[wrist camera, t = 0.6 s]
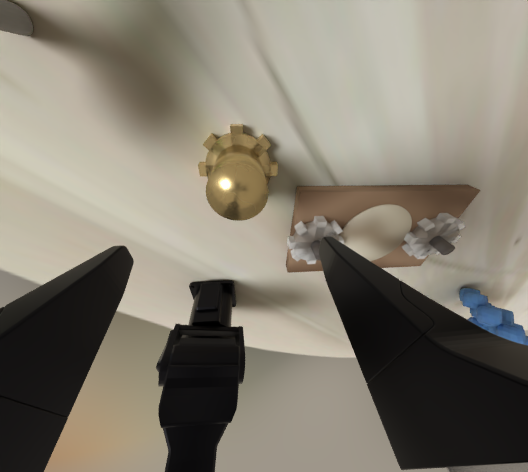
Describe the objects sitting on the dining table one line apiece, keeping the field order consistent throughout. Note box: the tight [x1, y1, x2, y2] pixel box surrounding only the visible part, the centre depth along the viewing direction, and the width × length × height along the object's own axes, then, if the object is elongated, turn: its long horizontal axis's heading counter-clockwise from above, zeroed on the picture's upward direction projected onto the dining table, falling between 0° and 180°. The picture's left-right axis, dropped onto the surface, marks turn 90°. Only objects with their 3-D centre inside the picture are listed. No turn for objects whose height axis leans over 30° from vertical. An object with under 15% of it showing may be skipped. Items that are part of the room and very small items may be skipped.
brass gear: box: [198, 124, 278, 220], centre depth 16 cm, size 7×7×6 cm
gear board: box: [286, 185, 480, 272], centre depth 23 cm, size 12×21×4 cm, turn 88°
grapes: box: [459, 288, 528, 345], centre depth 32 cm, size 12×7×12 cm, turn 57°
